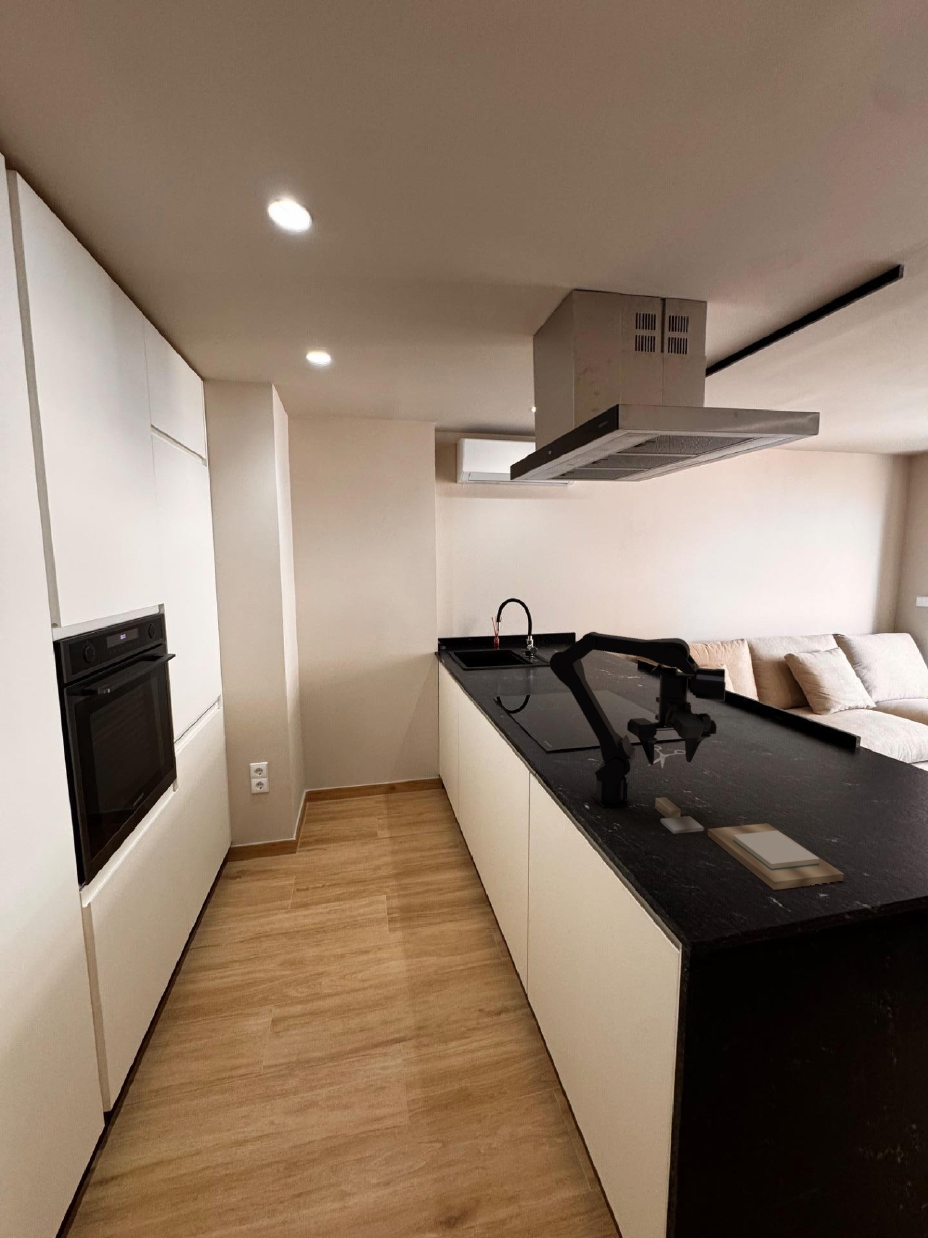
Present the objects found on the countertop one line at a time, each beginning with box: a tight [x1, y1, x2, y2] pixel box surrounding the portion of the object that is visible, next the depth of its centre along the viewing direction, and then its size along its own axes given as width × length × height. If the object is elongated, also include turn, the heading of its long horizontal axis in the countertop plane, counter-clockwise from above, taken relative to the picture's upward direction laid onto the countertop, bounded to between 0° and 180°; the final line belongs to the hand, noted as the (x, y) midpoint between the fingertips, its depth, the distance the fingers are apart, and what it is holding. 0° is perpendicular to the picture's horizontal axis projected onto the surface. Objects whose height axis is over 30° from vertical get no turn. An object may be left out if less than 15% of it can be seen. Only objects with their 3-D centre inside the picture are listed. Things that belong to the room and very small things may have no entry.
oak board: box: [707, 822, 844, 891], centre depth 98 cm, size 14×18×2 cm
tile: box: [733, 830, 820, 870], centre depth 97 cm, size 10×1×10 cm
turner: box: [654, 796, 705, 834], centre depth 112 cm, size 7×11×2 cm, turn 10°
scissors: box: [647, 744, 686, 769], centre depth 149 cm, size 11×1×20 cm
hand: (670, 763), depth 114 cm, fingers open, 9 cm apart
